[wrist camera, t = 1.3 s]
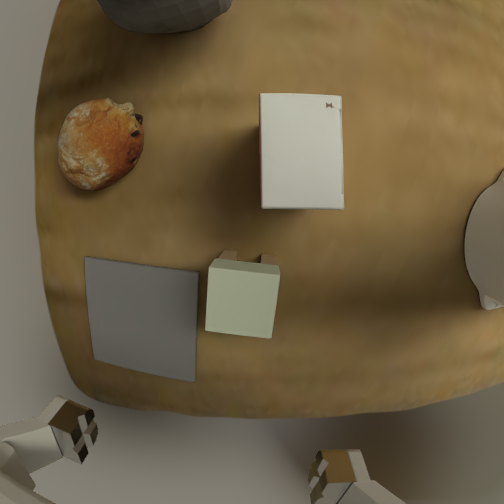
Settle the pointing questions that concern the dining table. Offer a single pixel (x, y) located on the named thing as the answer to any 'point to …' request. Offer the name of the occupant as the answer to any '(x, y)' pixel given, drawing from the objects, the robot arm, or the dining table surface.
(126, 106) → the bread roll
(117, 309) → the mat
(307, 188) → the small box
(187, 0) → the grey tall rounded piece
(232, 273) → the stool
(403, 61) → the dining table surface
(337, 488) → the robot arm
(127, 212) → the dining table surface
